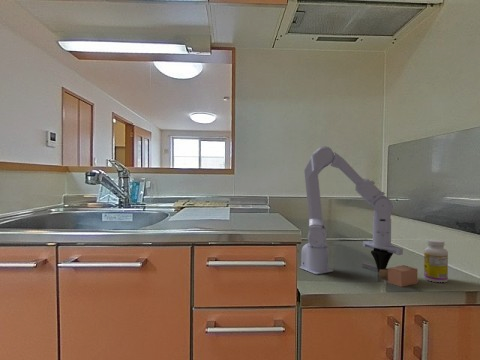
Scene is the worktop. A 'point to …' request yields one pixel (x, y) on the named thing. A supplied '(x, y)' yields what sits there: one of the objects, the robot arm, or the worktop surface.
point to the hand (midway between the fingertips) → (381, 271)
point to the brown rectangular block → (383, 274)
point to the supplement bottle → (436, 261)
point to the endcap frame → (398, 274)
